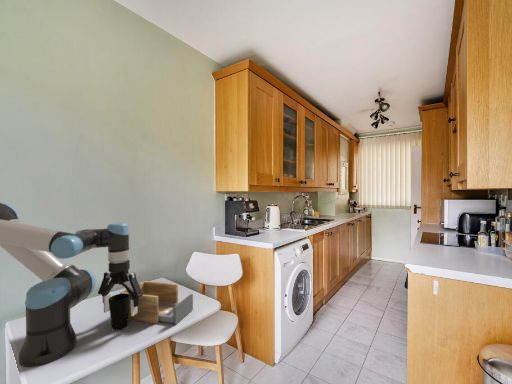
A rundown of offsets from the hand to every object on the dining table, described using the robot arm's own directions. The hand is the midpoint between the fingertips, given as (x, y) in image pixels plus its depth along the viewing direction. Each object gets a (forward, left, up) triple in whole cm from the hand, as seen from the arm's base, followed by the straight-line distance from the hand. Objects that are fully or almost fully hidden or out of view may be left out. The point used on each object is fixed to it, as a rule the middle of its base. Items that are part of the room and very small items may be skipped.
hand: (120, 312), depth 99 cm
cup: (0, 0, -6) cm, 6 cm away
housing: (+13, -3, -6) cm, 14 cm away
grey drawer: (+13, -13, -5) cm, 19 cm away
